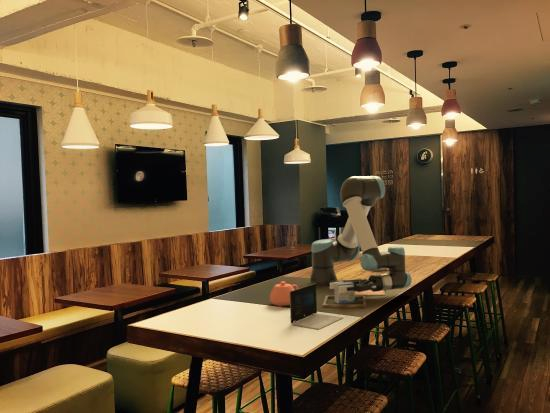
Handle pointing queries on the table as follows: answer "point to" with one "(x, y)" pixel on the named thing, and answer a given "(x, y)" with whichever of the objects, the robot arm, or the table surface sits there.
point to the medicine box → (344, 294)
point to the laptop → (308, 309)
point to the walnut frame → (343, 304)
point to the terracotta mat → (370, 293)
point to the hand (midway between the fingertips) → (334, 287)
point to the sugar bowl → (281, 294)
